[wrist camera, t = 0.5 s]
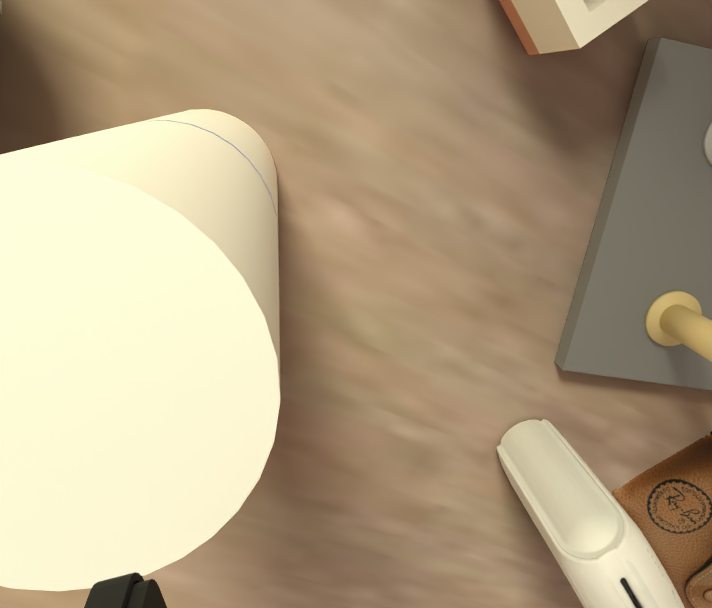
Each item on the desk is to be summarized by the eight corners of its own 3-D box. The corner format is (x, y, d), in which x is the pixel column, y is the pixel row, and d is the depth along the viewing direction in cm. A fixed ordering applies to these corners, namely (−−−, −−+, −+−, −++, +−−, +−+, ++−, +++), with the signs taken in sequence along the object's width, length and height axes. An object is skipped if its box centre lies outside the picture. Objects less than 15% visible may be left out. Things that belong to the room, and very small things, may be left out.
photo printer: (611, 523, 43) (736, 683, 32) (553, 555, 44) (655, 726, 32) (545, 403, 40) (656, 533, 28) (483, 439, 40) (567, 582, 29)
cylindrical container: (306, 187, 34) (372, 402, 11) (206, 278, 35) (64, 660, 12) (206, 77, 32) (17, 43, 9) (102, 176, 33) (-328, 393, 10)
